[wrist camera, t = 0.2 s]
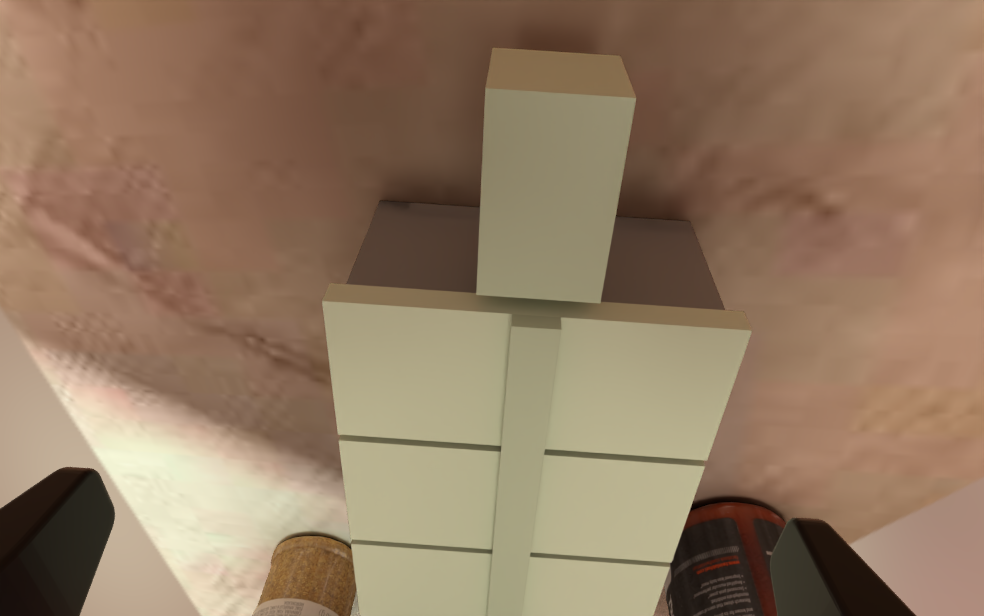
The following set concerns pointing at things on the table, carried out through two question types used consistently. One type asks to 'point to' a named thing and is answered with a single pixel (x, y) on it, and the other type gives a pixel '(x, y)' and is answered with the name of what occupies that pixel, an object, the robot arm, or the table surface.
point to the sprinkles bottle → (309, 579)
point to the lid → (528, 384)
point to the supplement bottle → (724, 562)
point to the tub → (454, 256)
